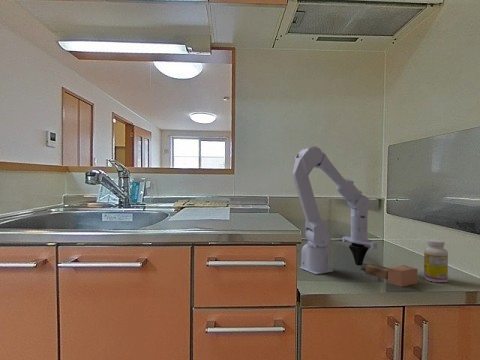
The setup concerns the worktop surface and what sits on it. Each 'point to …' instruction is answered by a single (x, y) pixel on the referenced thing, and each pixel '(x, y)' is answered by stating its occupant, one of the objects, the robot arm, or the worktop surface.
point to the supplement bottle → (436, 261)
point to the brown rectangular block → (377, 271)
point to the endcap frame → (401, 275)
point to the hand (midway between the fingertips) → (358, 264)
